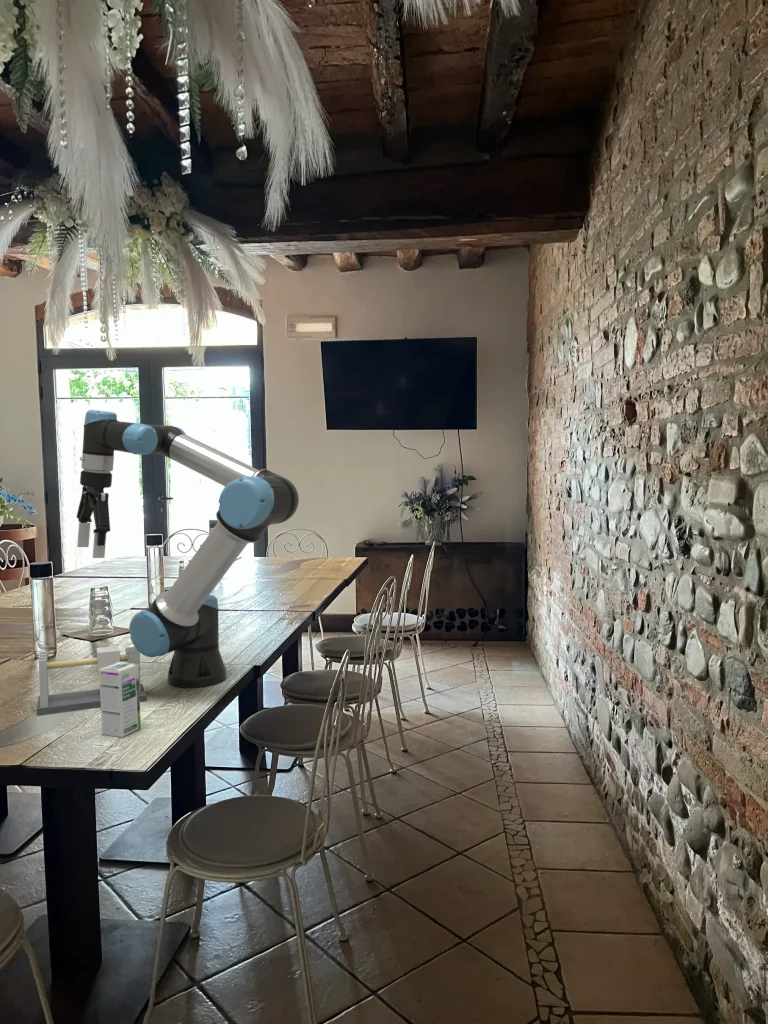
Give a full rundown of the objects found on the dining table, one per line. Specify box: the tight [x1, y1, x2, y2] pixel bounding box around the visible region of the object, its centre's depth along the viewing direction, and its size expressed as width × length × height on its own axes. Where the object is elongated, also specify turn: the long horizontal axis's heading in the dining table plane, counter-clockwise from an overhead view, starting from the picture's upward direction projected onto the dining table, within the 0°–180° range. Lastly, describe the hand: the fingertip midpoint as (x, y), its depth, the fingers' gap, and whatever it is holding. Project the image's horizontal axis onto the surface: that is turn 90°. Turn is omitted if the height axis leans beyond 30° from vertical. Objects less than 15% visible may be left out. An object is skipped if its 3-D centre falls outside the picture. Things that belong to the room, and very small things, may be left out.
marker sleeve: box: [96, 645, 121, 674], centre depth 173 cm, size 5×5×5 cm
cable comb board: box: [36, 646, 147, 716], centre depth 172 cm, size 24×10×12 cm, turn 114°
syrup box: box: [98, 661, 142, 738], centre depth 152 cm, size 6×6×14 cm
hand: (90, 552), depth 184 cm, fingers open, 13 cm apart
